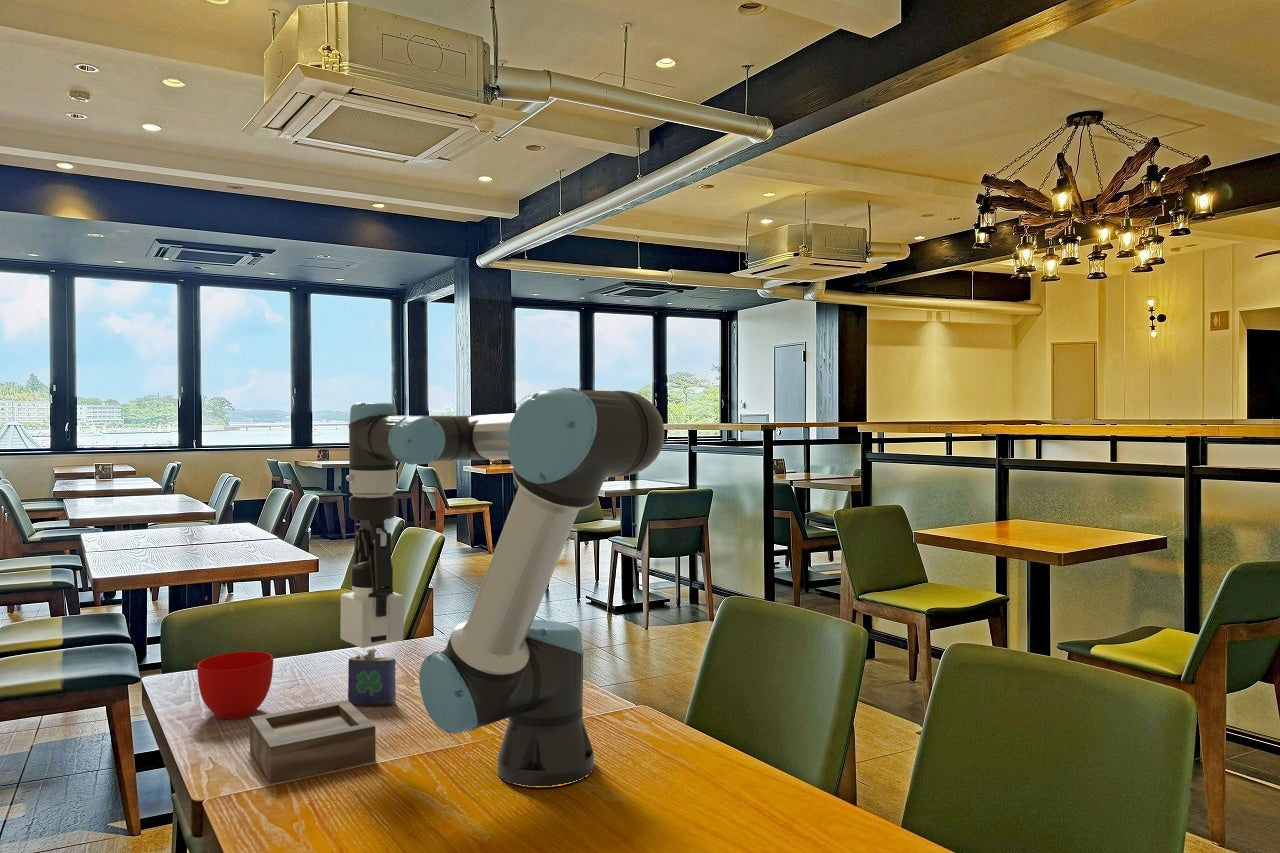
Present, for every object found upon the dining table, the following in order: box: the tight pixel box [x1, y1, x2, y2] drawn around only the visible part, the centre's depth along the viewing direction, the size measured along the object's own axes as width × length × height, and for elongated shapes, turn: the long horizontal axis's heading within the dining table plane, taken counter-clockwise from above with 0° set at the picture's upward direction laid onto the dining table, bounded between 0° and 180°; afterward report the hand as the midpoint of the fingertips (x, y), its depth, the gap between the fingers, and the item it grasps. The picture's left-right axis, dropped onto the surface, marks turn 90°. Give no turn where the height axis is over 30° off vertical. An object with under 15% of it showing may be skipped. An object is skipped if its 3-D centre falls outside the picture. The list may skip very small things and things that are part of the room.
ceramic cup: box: [196, 650, 274, 720], centre depth 166 cm, size 13×17×10 cm
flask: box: [347, 648, 397, 707], centre depth 170 cm, size 9×3×11 cm, turn 88°
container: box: [339, 562, 405, 649], centre depth 148 cm, size 8×8×13 cm
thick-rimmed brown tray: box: [249, 699, 377, 784], centre depth 145 cm, size 16×16×6 cm
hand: (371, 628), depth 148 cm, fingers closed on container, 9 cm apart
